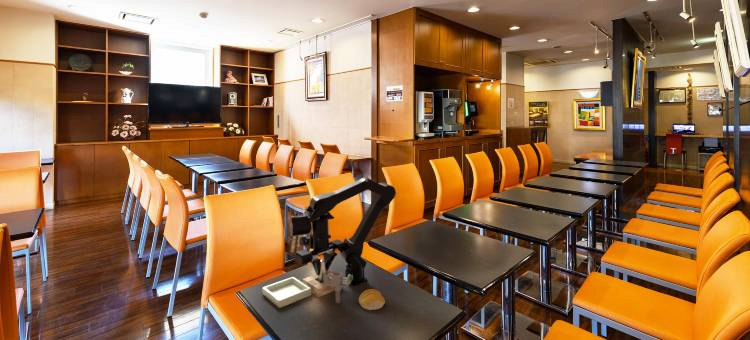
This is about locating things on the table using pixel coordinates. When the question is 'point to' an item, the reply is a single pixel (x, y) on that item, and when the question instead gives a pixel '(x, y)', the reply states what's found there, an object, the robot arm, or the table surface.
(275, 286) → the parts tray
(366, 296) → the bread roll
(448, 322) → the table surface
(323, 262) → the pin
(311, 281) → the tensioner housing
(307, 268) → the table surface
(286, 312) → the table surface
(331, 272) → the mechanical component
